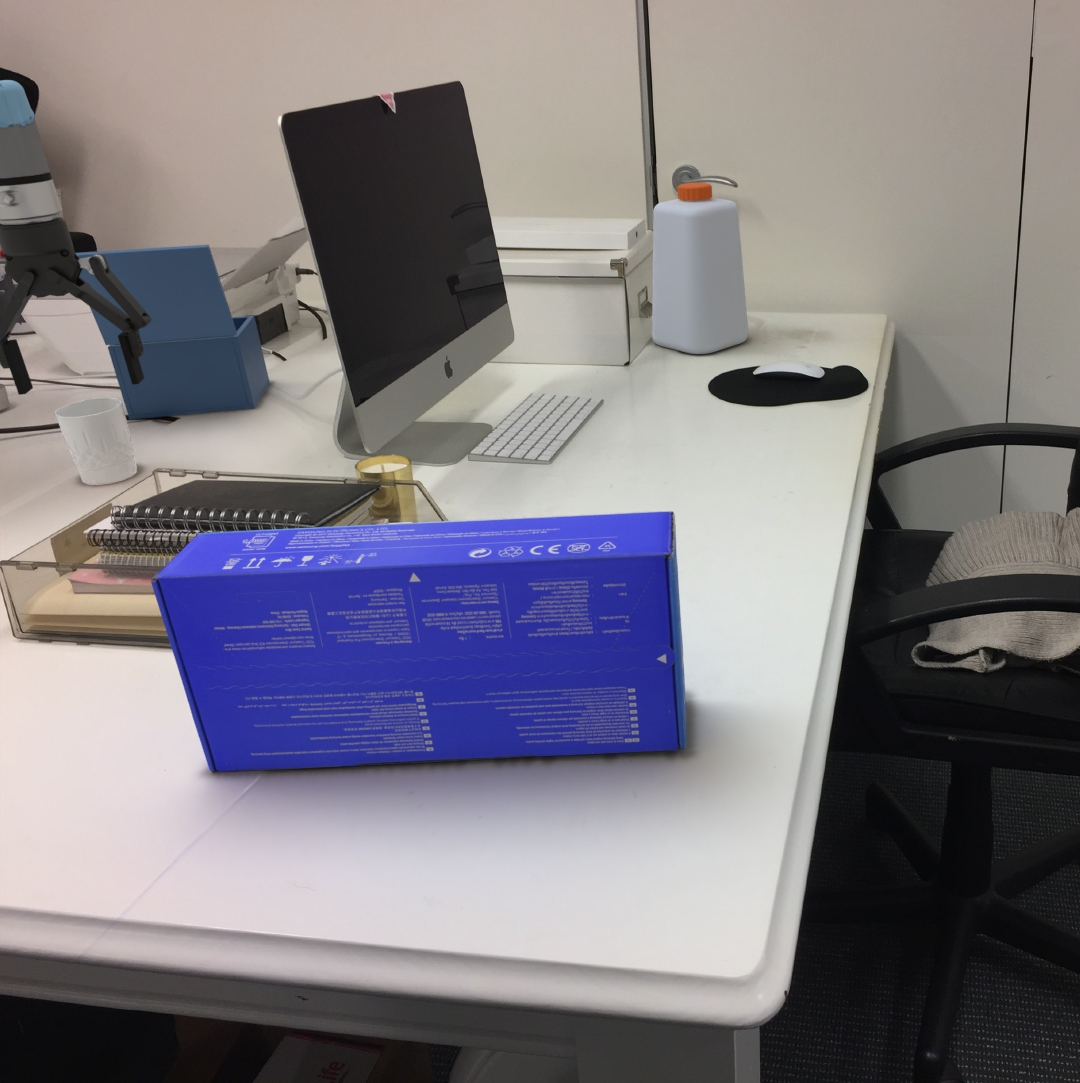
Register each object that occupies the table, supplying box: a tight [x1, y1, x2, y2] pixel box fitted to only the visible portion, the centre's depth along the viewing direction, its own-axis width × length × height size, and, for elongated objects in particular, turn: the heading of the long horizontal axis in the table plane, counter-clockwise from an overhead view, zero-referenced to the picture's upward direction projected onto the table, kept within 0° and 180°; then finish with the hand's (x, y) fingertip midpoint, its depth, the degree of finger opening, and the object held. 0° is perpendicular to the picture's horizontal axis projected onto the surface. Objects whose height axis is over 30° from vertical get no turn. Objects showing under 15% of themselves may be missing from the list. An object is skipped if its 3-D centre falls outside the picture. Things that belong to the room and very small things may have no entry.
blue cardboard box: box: [150, 510, 687, 773], centre depth 84 cm, size 39×8×18 cm, turn 92°
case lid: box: [75, 244, 237, 346], centre depth 153 cm, size 14×19×1 cm
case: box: [107, 315, 271, 420], centre depth 167 cm, size 14×19×12 cm
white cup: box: [54, 396, 138, 486], centre depth 139 cm, size 8×8×10 cm
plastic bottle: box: [651, 182, 749, 355], centre depth 186 cm, size 15×15×28 cm
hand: (82, 386), depth 136 cm, fingers open, 13 cm apart
